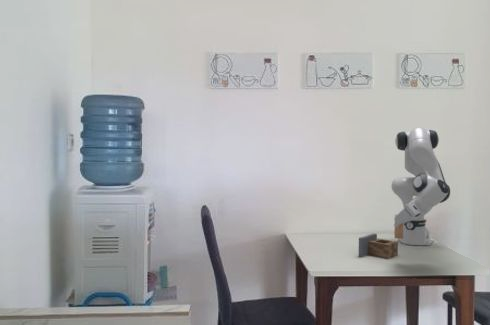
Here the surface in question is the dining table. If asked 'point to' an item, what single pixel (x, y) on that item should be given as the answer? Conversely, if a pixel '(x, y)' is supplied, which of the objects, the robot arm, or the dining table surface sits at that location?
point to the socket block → (383, 248)
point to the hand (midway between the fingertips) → (397, 225)
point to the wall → (365, 244)
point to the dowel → (399, 231)
